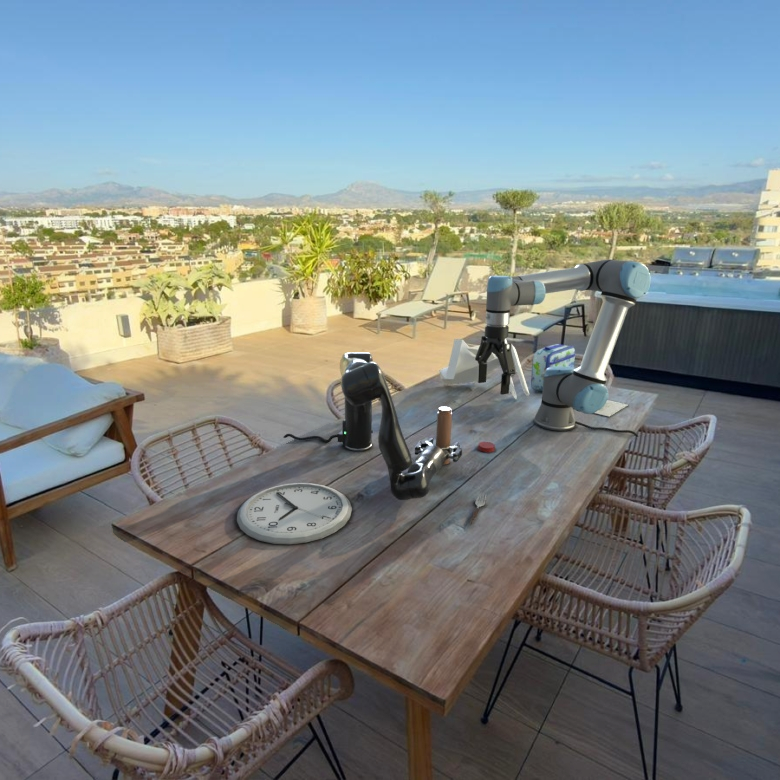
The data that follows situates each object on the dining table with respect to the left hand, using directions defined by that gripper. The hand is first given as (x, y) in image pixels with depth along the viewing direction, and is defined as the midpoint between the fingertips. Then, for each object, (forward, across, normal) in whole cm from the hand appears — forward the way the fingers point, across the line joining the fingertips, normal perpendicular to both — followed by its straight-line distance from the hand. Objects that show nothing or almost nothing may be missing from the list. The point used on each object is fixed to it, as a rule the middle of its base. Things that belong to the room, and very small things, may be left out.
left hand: (444, 442), depth 170 cm
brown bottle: (-2, 0, +6) cm, 6 cm away
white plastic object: (+78, +6, +6) cm, 78 cm away
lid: (+14, -11, +5) cm, 19 cm away
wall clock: (-48, +27, +6) cm, 55 cm away
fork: (-29, -18, +6) cm, 34 cm away
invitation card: (+80, -47, +6) cm, 93 cm away
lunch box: (+99, -24, +6) cm, 102 cm away
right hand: (+15, -12, -16) cm, 25 cm away
